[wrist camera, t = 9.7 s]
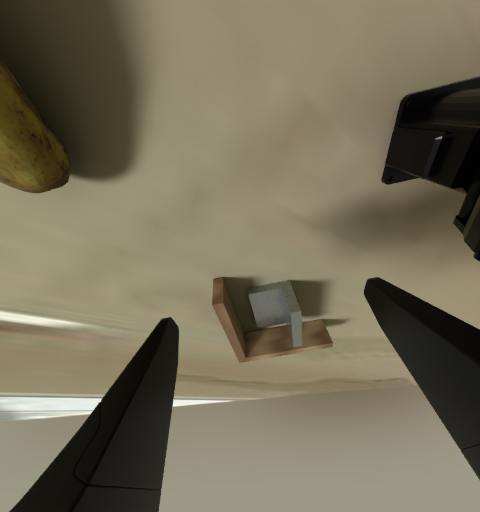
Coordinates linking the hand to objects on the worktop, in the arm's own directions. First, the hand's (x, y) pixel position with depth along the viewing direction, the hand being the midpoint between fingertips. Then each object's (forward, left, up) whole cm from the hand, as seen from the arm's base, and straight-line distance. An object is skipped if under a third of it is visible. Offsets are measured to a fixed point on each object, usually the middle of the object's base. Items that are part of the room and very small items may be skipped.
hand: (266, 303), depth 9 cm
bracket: (-1, +16, -12) cm, 20 cm away
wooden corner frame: (-2, +16, -12) cm, 20 cm away
